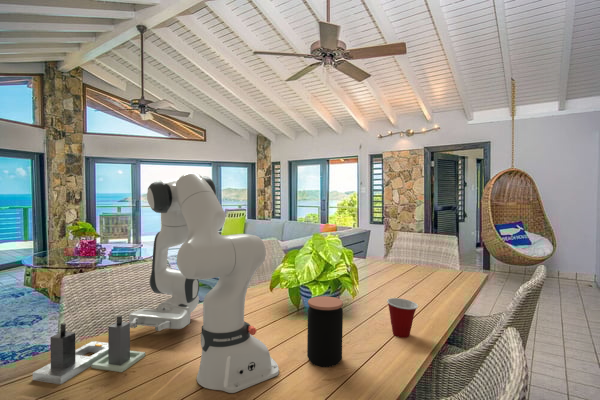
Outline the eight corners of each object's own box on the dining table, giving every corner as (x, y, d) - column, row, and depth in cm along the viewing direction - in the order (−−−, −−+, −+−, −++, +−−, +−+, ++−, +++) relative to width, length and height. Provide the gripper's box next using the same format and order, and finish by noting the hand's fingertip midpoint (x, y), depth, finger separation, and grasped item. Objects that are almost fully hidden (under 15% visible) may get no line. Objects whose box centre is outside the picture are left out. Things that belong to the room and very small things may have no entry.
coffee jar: (339, 351, 112) (340, 296, 112) (344, 368, 102) (345, 307, 101) (306, 351, 112) (306, 296, 112) (308, 368, 101) (308, 307, 101)
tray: (116, 353, 109) (116, 348, 109) (145, 357, 107) (145, 352, 107) (91, 369, 99) (91, 364, 99) (122, 373, 97) (122, 368, 97)
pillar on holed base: (92, 348, 112) (92, 305, 112) (116, 351, 110) (116, 307, 110) (32, 381, 93) (32, 329, 92) (60, 386, 91) (60, 332, 91)
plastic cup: (419, 342, 120) (420, 307, 120) (387, 339, 122) (387, 305, 122) (415, 330, 131) (416, 298, 130) (385, 327, 133) (386, 296, 132)
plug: (118, 357, 106) (118, 313, 105) (129, 359, 105) (129, 314, 104) (108, 363, 102) (108, 318, 101) (120, 365, 101) (120, 319, 101)
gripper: (143, 302, 130) (116, 314, 116) (194, 306, 125) (172, 320, 112) (143, 318, 130) (116, 333, 116) (194, 323, 126) (172, 339, 112)
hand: (144, 327), depth 114 cm, fingers open, 8 cm apart
